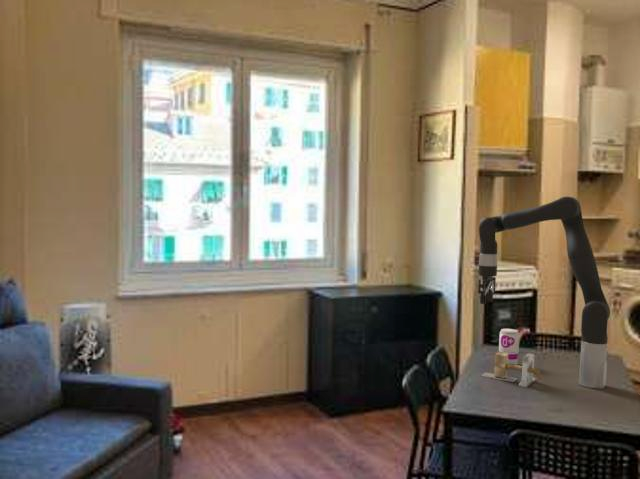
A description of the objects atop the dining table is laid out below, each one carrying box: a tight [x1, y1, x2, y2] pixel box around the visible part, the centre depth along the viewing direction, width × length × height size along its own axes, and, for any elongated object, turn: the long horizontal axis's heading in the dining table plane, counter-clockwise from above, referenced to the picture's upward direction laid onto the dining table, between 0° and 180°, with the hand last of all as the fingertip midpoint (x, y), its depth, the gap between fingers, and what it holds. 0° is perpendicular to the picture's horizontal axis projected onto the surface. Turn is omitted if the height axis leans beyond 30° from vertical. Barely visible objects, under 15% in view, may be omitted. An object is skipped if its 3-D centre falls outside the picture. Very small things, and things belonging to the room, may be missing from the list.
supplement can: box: [498, 328, 520, 365], centre depth 278 cm, size 8×8×15 cm
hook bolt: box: [493, 351, 541, 381], centre depth 252 cm, size 17×4×9 cm, turn 56°
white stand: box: [481, 352, 536, 388], centre depth 255 cm, size 19×12×11 cm, turn 56°
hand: (486, 302), depth 271 cm, fingers open, 8 cm apart
